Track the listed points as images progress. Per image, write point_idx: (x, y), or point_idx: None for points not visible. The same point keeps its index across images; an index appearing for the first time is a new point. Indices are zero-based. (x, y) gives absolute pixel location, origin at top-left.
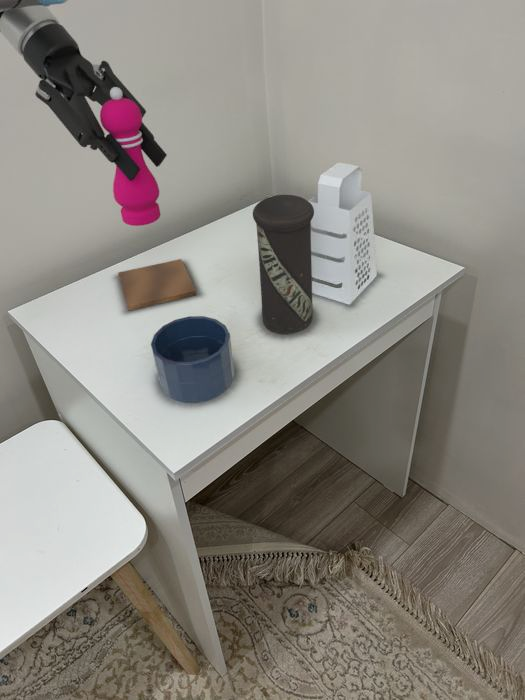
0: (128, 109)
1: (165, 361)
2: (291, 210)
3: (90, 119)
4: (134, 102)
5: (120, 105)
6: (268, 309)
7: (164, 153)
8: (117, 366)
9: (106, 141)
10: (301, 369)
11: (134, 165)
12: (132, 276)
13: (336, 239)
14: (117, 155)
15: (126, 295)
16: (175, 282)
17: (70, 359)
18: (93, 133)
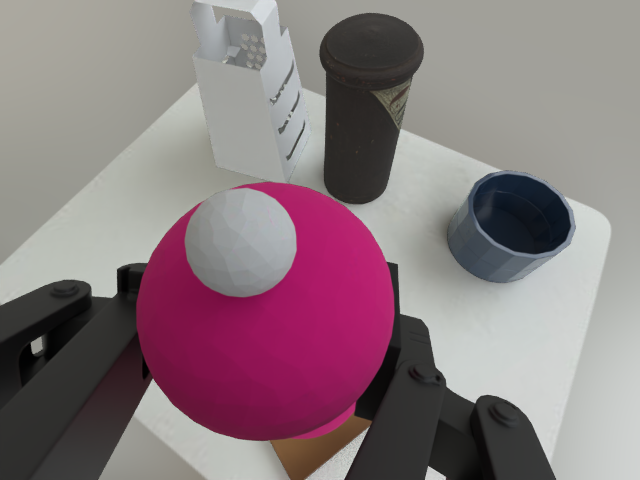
0: (319, 194)
1: (574, 223)
2: (391, 24)
3: (423, 451)
4: (13, 320)
5: (329, 218)
6: (389, 171)
7: None
8: (521, 349)
9: (406, 357)
10: (434, 151)
11: (391, 270)
12: (305, 442)
13: (290, 80)
14: (407, 317)
15: (368, 421)
16: None
17: (544, 438)
18: (446, 414)
